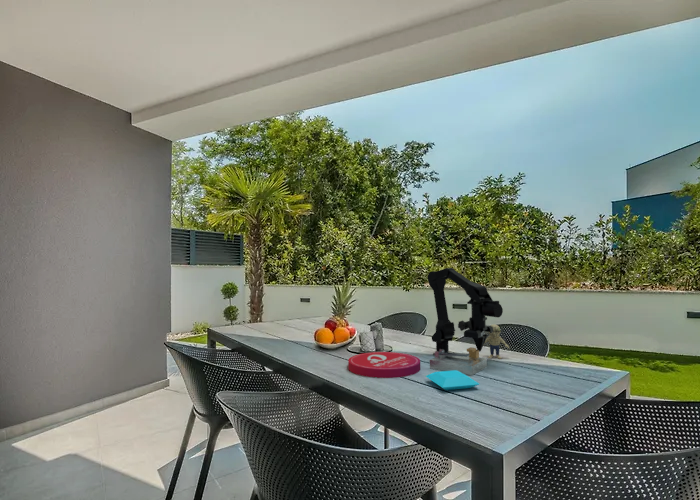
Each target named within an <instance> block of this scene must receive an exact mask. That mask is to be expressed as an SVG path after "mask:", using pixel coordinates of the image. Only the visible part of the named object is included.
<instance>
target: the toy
mask: <svg viewBox="0 0 700 500" xmlns="http://www.w3.org/2000/svg"><path fill="white" fill-rule="evenodd" d="M489 326H492V327H493V332H492V333H490V332H488V333H489V334H488V337H487V339H486V341H485V343H484V345H483V347H484V346H485V344H486V343H489V353H490V354H489V356H487V358H488V359H492V358H494V354H495V356H496V358H497V359H498V360H500V359H501V360H502V357H501V356H500V345H501V344H503V345H505V346H504V347H505V348H506V347H507V348H508V349H510V346H509V344H508V343H506V341H505V340H504V339H503V338H502V337H501V336H500V334H501V328H500V326H499V325H498V324H495V323H492V324H490V325H489Z"/></svg>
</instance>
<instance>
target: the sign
mask: <svg viewBox="0 0 700 500" xmlns="http://www.w3.org/2000/svg"><path fill="white" fill-rule="evenodd" d="M347 362H348V364H347V365H348V370H349V372H351V373H353V374H355V375H357V376H362V377H368V378H375V377H377V379H397V378H403V377H410V376H412V375H416V374H419V372H421V359H420V358H419V357H417V356H414V355H412V354H409V353H403V352H393V351H374V352H373V351H372V352H365V353H364V352H362V353H359V354H356V355H353V356H351V357H349V358H348V361H347Z"/></svg>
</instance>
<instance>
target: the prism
mask: <svg viewBox="0 0 700 500" xmlns="http://www.w3.org/2000/svg"><path fill="white" fill-rule="evenodd" d="M425 377H426V378H427V379H429V380H430V381H432V382H433V383H434V384H435V385H437V386H439V387H441V388H442V389H443V390H445V391H454V390H455V391H456V390H464V389H471V388H474V387H476V386H479V385H480V383H479V382H478V381H476V380H474V379H473V378H471V377H470V376H469V375H465V374H463V373H461V372H459V371H457V370H452V371H442V370H439V371H434V372H431V373H430V374H427V375H425Z"/></svg>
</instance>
